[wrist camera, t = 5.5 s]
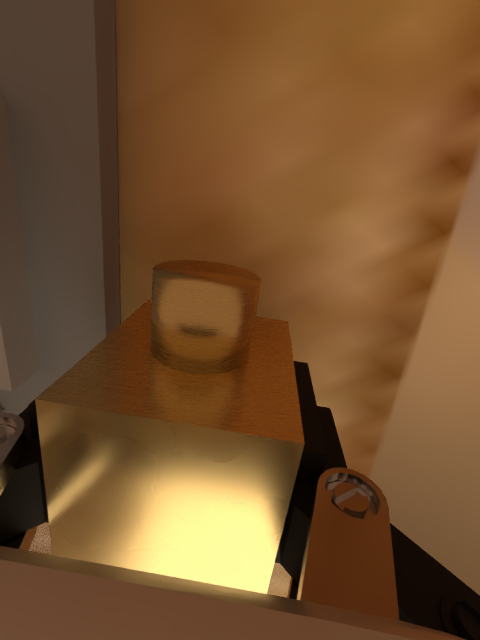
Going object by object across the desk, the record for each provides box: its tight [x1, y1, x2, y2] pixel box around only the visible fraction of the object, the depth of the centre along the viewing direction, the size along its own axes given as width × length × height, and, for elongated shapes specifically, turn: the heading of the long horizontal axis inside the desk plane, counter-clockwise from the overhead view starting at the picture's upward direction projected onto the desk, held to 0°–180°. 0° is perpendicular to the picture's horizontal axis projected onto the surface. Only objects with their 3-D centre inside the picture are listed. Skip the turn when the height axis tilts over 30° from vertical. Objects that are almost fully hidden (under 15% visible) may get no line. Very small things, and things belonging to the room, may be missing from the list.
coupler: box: [35, 260, 305, 594], centre depth 9 cm, size 8×5×6 cm, turn 173°
